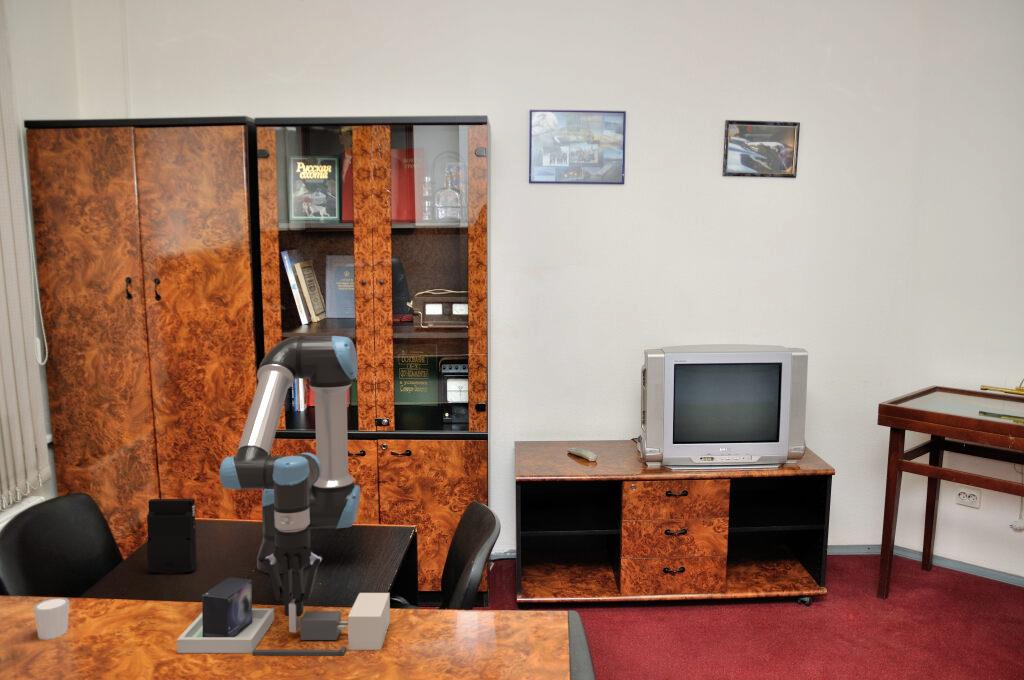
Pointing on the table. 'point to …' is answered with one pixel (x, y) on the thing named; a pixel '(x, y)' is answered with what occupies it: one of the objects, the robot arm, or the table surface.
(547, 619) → the table surface
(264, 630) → the dock
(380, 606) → the socket
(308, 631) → the plug
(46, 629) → the white cylinder
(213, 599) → the small box
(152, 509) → the black upright device
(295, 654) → the grey thin bar
